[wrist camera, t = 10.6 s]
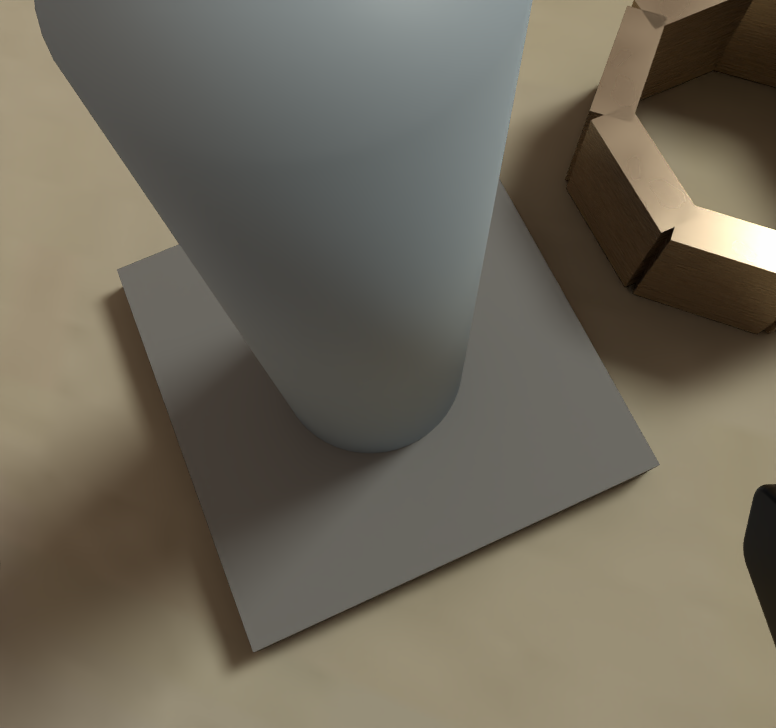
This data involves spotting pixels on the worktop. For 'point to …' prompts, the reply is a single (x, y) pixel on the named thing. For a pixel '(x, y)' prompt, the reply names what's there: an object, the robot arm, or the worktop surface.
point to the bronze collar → (653, 174)
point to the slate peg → (317, 178)
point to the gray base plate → (387, 469)
